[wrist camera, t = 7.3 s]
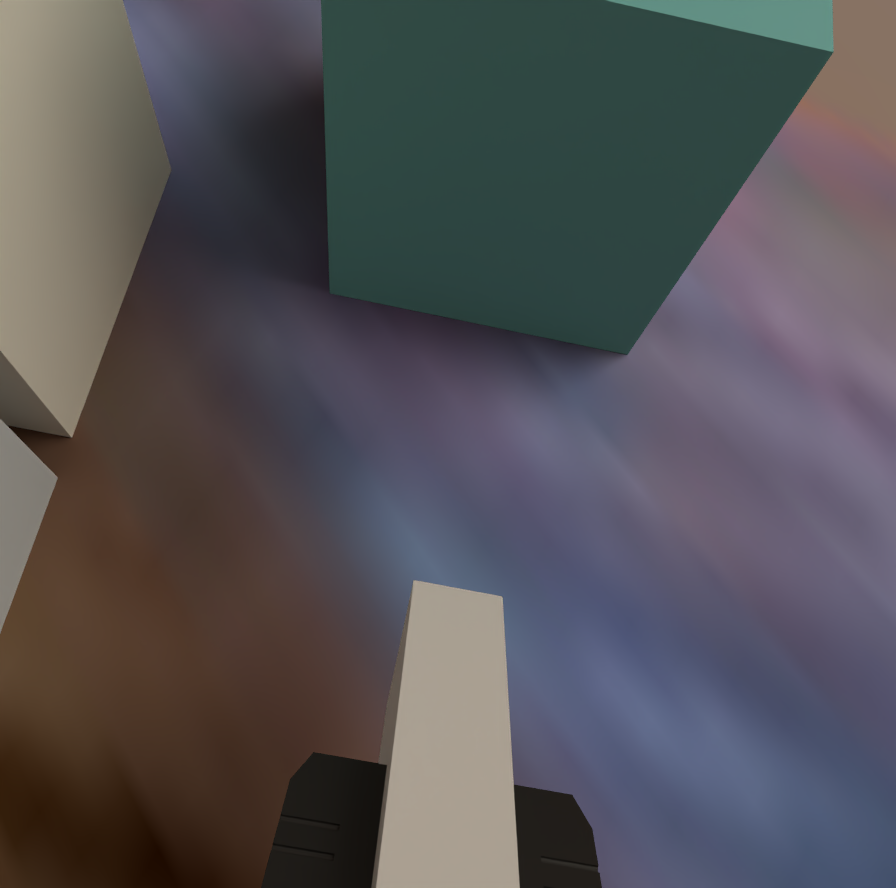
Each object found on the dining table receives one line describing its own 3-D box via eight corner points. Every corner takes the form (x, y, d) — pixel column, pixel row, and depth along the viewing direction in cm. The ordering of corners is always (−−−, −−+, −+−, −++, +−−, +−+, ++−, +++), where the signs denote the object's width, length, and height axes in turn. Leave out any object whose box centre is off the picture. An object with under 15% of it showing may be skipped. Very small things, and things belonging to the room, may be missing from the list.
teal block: (626, 355, 22) (833, 51, 13) (329, 294, 22) (319, -65, 12) (647, 125, 25) (827, -254, 16) (388, 68, 25) (414, -355, 15)
